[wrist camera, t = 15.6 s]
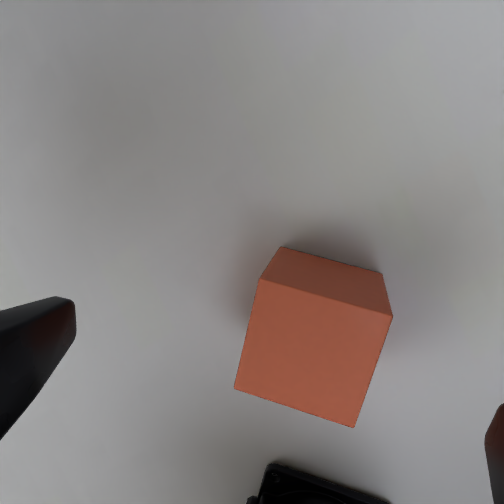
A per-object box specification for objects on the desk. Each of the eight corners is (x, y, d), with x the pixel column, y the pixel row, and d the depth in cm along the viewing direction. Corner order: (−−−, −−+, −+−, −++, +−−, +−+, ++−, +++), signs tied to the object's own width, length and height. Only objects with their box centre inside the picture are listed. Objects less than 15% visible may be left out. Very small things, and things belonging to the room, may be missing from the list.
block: (382, 273, 17) (393, 316, 13) (352, 364, 19) (354, 429, 14) (280, 245, 18) (258, 277, 14) (258, 335, 19) (233, 389, 15)
